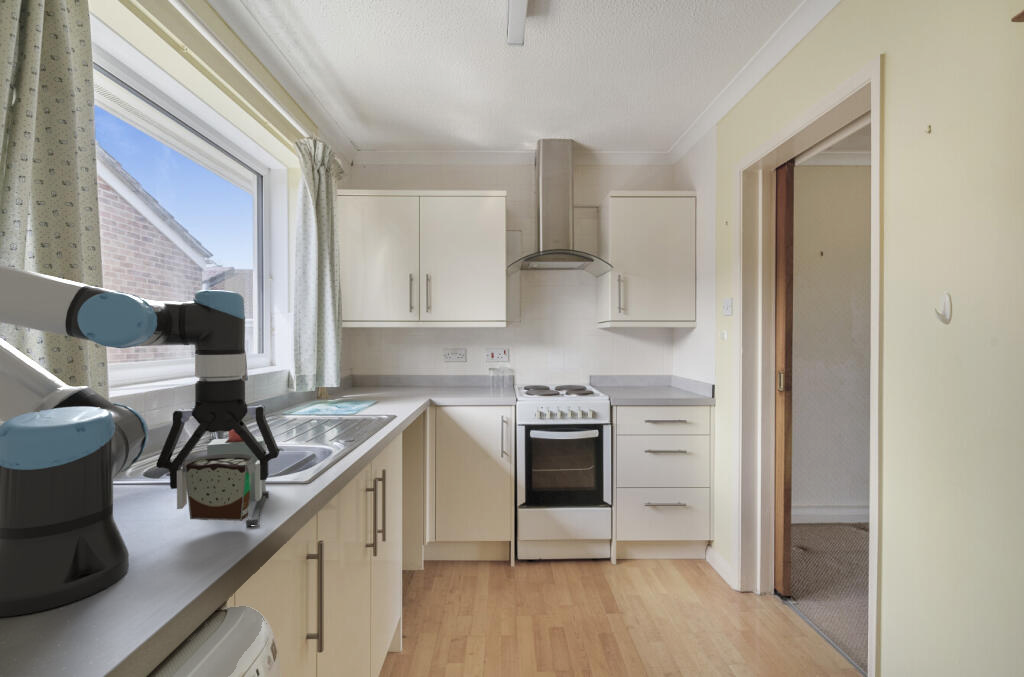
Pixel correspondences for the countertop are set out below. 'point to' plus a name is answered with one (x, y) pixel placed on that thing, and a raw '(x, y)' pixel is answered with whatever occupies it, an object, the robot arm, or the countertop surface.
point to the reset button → (234, 437)
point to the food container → (219, 486)
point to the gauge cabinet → (237, 447)
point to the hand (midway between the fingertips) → (221, 502)
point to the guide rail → (257, 510)
